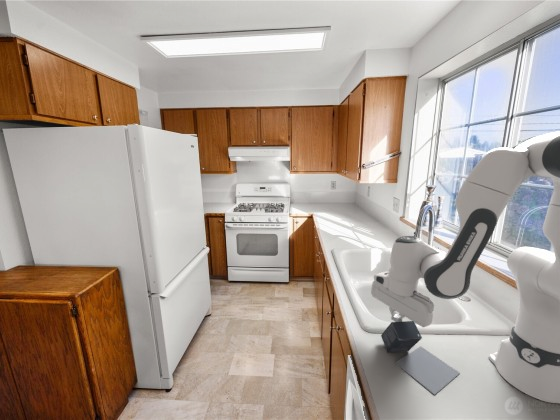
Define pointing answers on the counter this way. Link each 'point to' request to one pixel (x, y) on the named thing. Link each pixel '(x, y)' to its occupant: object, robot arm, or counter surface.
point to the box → (400, 336)
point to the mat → (427, 369)
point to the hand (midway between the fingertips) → (396, 321)
